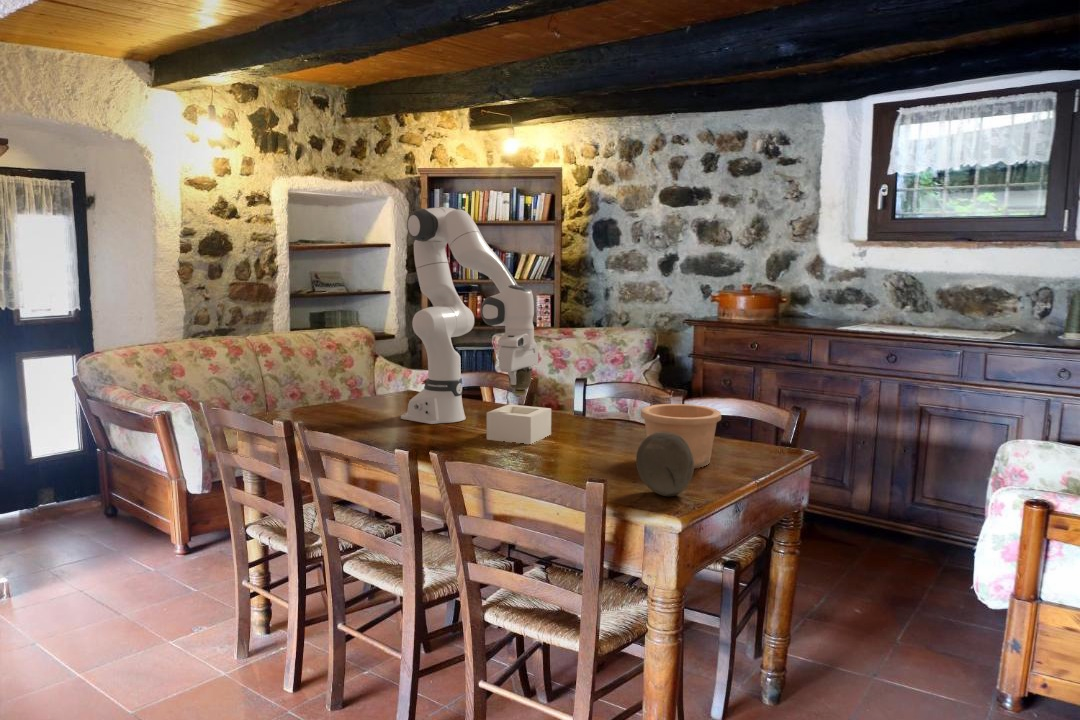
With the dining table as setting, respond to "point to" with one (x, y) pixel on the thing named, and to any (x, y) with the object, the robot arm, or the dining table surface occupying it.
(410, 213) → the robot arm
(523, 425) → the cream box
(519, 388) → the cup
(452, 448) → the dining table surface
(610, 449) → the dining table surface
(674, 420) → the pottery
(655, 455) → the dark round stone
